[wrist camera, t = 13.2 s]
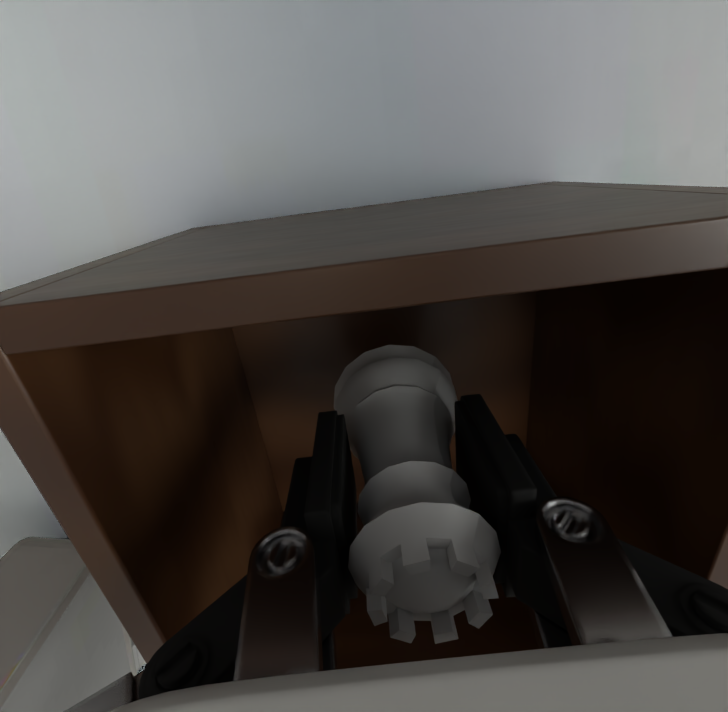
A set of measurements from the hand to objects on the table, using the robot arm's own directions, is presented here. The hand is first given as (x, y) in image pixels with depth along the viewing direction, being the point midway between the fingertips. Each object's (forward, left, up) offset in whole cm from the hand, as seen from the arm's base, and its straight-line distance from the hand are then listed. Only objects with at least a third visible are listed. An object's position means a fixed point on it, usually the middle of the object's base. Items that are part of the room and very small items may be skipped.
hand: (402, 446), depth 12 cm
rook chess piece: (0, 0, -3) cm, 3 cm away
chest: (+1, 0, -7) cm, 7 cm away
